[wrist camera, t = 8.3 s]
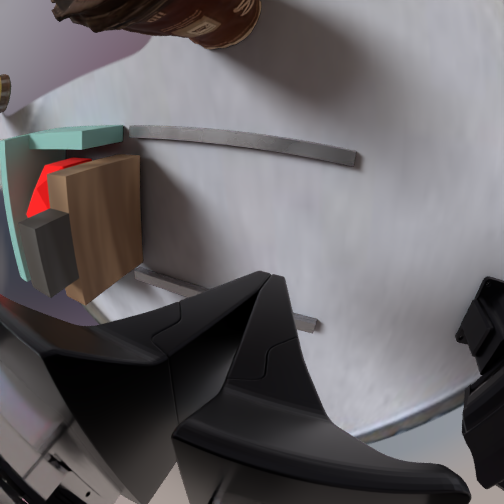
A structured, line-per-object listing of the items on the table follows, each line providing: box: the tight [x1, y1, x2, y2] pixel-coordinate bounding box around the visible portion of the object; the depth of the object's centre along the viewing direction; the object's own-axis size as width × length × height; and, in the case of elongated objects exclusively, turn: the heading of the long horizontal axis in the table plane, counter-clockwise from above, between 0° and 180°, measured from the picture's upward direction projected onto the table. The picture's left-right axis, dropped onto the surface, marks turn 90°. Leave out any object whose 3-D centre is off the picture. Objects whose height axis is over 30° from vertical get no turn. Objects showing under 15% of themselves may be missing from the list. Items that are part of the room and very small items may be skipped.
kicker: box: [18, 154, 143, 305], centre depth 21 cm, size 2×10×11 cm, turn 173°
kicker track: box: [129, 125, 356, 333], centre depth 24 cm, size 18×15×1 cm
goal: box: [0, 125, 123, 281], centre depth 24 cm, size 10×15×8 cm
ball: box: [26, 157, 92, 218], centre depth 24 cm, size 8×8×8 cm
